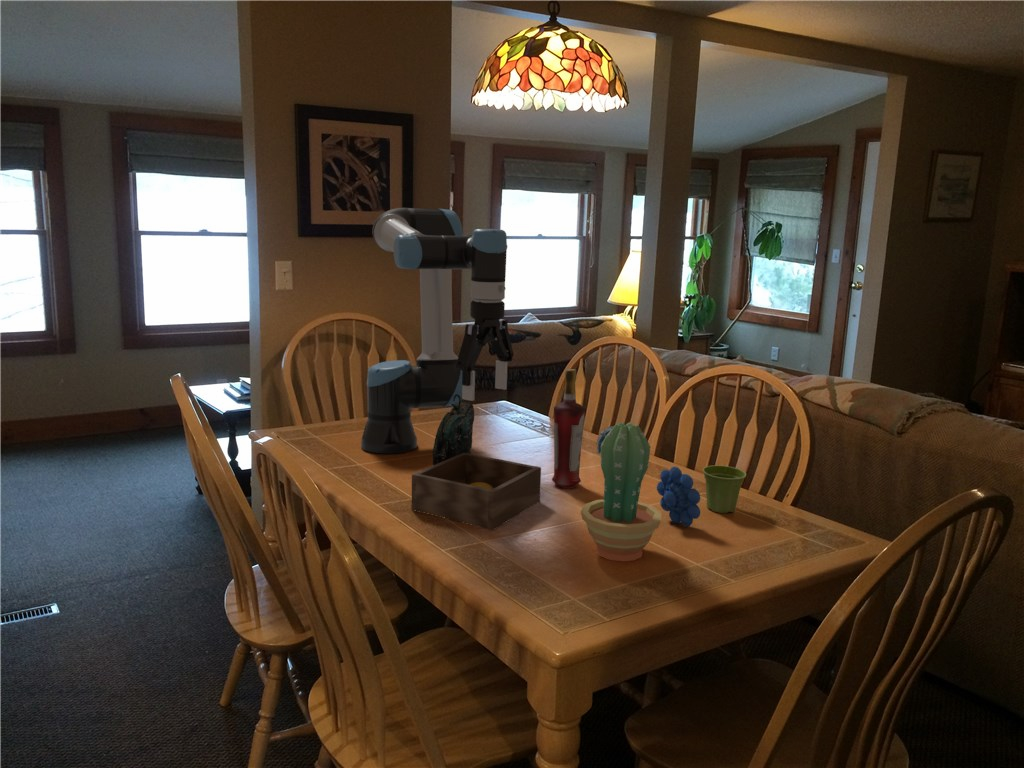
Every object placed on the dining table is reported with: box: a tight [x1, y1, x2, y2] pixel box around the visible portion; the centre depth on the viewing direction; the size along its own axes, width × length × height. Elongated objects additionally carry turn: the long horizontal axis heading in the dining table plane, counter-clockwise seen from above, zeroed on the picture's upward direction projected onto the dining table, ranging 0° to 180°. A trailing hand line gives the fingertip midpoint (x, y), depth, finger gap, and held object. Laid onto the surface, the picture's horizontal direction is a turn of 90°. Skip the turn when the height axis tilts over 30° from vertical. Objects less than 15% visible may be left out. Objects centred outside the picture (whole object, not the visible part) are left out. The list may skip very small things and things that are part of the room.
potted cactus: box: [580, 422, 663, 562], centre depth 151 cm, size 15×15×25 cm
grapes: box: [656, 466, 701, 527], centre depth 167 cm, size 12×7×12 cm, turn 37°
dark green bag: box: [432, 394, 475, 466], centre depth 195 cm, size 20×6×20 cm, turn 164°
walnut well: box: [411, 452, 542, 531], centre depth 175 cm, size 20×20×8 cm
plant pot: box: [702, 464, 747, 514], centre depth 178 cm, size 9×9×9 cm
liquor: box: [551, 368, 586, 489], centre depth 189 cm, size 7×7×28 cm
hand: (485, 394), depth 181 cm, fingers open, 13 cm apart
